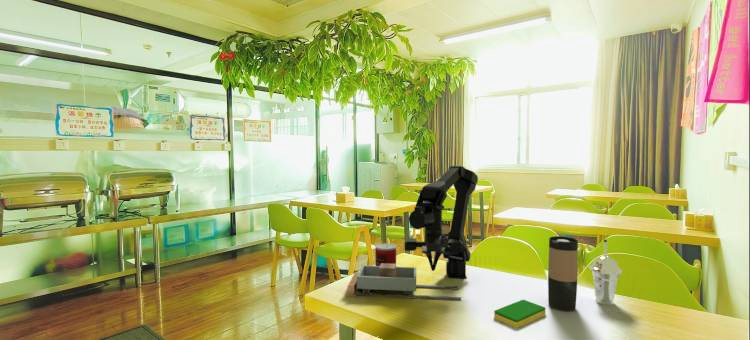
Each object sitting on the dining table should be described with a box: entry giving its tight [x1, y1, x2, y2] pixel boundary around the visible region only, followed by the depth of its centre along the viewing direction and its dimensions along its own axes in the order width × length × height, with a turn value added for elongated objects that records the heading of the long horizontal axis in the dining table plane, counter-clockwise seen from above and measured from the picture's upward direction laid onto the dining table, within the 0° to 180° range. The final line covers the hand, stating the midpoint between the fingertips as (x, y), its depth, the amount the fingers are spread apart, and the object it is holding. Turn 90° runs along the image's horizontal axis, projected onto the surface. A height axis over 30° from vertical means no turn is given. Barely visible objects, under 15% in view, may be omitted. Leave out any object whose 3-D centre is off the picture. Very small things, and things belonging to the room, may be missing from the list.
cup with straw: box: [588, 239, 623, 306], centre depth 109 cm, size 8×9×20 cm
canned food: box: [374, 243, 397, 266], centre depth 133 cm, size 8×8×11 cm
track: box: [347, 271, 462, 301], centre depth 118 cm, size 35×13×4 cm, turn 83°
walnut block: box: [379, 263, 397, 277], centre depth 118 cm, size 5×5×5 cm
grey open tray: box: [357, 264, 417, 295], centre depth 118 cm, size 19×12×6 cm, turn 83°
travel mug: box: [547, 235, 579, 312], centre depth 106 cm, size 8×8×20 cm
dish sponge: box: [493, 299, 546, 328], centre depth 100 cm, size 7×14×2 cm, turn 125°
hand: (433, 270), depth 120 cm, fingers closed
